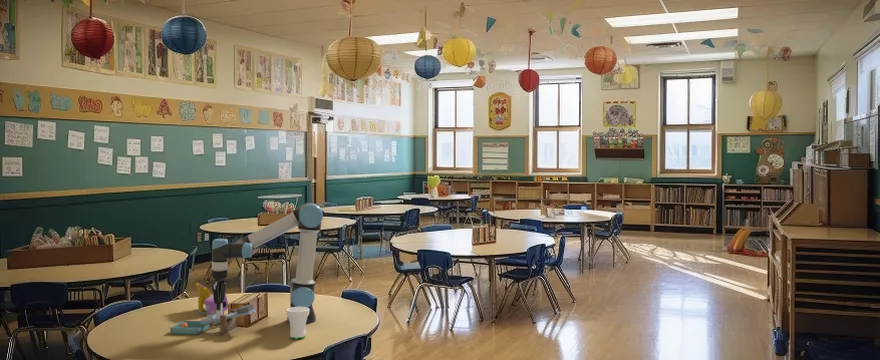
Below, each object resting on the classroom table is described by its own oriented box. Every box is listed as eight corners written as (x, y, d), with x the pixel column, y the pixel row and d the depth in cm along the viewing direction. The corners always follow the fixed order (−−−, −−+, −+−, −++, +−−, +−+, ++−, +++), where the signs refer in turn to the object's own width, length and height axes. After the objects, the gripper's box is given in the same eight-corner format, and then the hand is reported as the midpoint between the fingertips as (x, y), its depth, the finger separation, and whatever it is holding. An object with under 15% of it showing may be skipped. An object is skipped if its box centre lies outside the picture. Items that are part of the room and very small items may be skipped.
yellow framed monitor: (215, 315, 380) (215, 287, 379) (201, 317, 375) (200, 288, 375) (205, 308, 396) (205, 281, 396) (191, 310, 392) (191, 282, 391)
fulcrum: (240, 328, 353) (240, 309, 352) (229, 336, 339) (229, 316, 338) (227, 328, 353) (227, 308, 353) (215, 335, 340) (215, 315, 339)
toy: (234, 318, 368) (227, 294, 364) (224, 326, 362) (217, 302, 357) (219, 317, 373) (212, 293, 368) (209, 325, 366) (202, 300, 362)
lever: (256, 310, 350) (254, 303, 350) (248, 315, 339) (247, 307, 339) (208, 320, 352) (207, 313, 352) (200, 325, 342) (198, 318, 342)
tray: (209, 327, 354) (209, 321, 354) (197, 334, 340) (197, 328, 340) (183, 326, 356) (183, 320, 356) (170, 334, 342) (170, 327, 342)
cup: (298, 342, 329) (298, 313, 328) (281, 338, 335) (281, 310, 334) (314, 336, 338) (314, 308, 338) (297, 333, 344) (297, 305, 344)
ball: (186, 320, 350) (181, 324, 350) (183, 322, 346) (178, 325, 347) (190, 326, 350) (185, 329, 350) (187, 327, 346) (181, 331, 347)
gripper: (218, 267, 352) (217, 312, 353) (206, 271, 339) (206, 318, 340) (232, 267, 351) (231, 313, 352) (221, 272, 338) (221, 319, 339)
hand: (219, 315), depth 346 cm, fingers closed
